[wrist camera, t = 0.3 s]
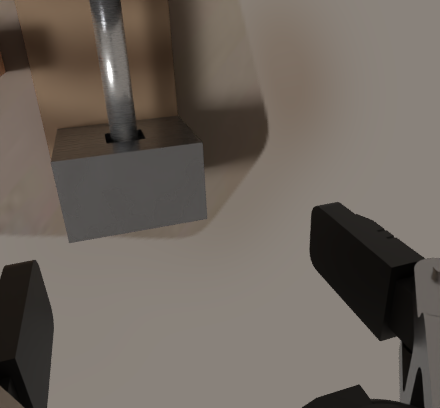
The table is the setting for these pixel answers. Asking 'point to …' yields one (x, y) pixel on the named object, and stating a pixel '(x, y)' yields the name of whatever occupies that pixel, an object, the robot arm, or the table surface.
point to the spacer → (1, 65)
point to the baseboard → (95, 61)
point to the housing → (128, 178)
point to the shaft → (114, 68)
